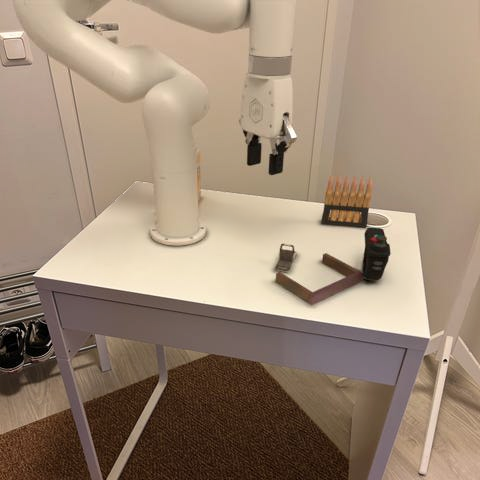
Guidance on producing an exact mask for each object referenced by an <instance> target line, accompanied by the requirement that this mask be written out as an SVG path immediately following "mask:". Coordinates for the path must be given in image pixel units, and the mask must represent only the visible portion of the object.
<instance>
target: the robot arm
mask: <svg viewBox="0 0 480 480" xmlns="http://www.w3.org/2000/svg"><path fill="white" fill-rule="evenodd" d="M111 1H112V0H12V5H13V8H14V12H15V15H16V18H17V20H18V22H19V24H20V26H21V28H22V29H23V31H24V32H25V34H26V35H27V37H28V38H29V40H30V41H31V42H32V43H33V44H34V45H35V46H36V47H37V48H39V49H40V51H42V52H43V53H44V54H46V55H47V56H48V57H50V58H51V59H53V60H55V61H56V62H57V63H60V64H61V65H62V66H64V67H66V68H68V69H69V70H71V71H72V72H74V73H75V74H77V75H78V76H80V77H81V78H82V79H84V80H86V81H87V82H88V83H89V84H91V85H93V86H94V87H96V88H97V89H99V90H101V91H102V92H103V93H105V94H106V95H108V96H109V97H111V98H112V99H114V100H116V101H118V102H119V103H122V104H131V103H136V102H138V101H140V100H142V105H141V118H142V122H143V126H144V130H145V133H146V138H147V143H148V147H149V148H148V150H149V157H150V158H149V159H150V168H151V175H152V176H151V178H152V188H153V190H152V191H153V201H154V209H152V214H153V215H154V216H155V221H156V223H154V224H153V225H152V226H151V228H150V237H151V239H152V240H154V241H155V242H157V243H159V244H161V245H166V246H177V247H178V246H187V245H188V246H189V245H192V244H195V243H198V242H199V241H201V240H203V239H204V238H205V237H206V236H207V235H206V234H207V228H206V226H205V224H203V223H202V222H201V221H200V218H199V217H200V215H199V200H198V184H197V159H196V148H197V147H196V145H195V140H194V136H193V132H192V127H193V126H194V125H196V124H198V123H199V122H201V121H202V120H203V119H204V118H205V117H206V116H207V114H208V112H209V110H210V108H211V107H210V106H211V97H210V92H209V90H208V88H207V86H206V84H205V83H204V82H203V81H202V80H201V78H199V77H198V76H197V75H195V74H194V73H193V72H191V71H189V70H188V69H186V68H185V67H184V66H182V65H180V64H179V63H178V62H176V61H174V60H173V59H172V58H170V57H169V56H168V55H166V54H164V53H162V52H161V51H159V50H158V49H156V48H154V47H151V46H148V45H145V44H135V45H130V46H121V45H118V44H116V43H114V42H113V41H111V40H109V39H107V38H106V37H104V36H102V35H101V34H100V33H99V32H97V31H96V30H94V29H92V28H91V27H89V26H87V25H84V24H82V23H80V21H84V20H87V19H88V18H90V17H92V16H93V15H94V14H96V13H97V12H98V11H100V10H101V9H102V8H103V7H105V6H106V5H107V4H108V3H110V2H111ZM127 1H129V2H132V3H134V4H137V5H140V6H143V7H146V8H148V9H150V10H151V11H152V12H153V13H156V14H158V15H160V16H162V17H164V18H167V19H169V20H171V21H174V22H175V23H179V24H182V25H184V26H188V27H190V28H193V29H197V30H198V31H199V30H200V31H202V32H206V33H209V34H223V33H228V32H232V31H237V30H243V29H249V31H248V33H249V35H248V69H247V71H248V72H246V73H245V77H244V81H243V86H242V94H241V102H240V103H241V105H240V117H239V120H238V123H239V125H240V127H241V129H242V133H243V135H244V137H245V141H244V142H245V144H246V146H247V147H246V148H247V149H246V165H247V166H249V167H252V166H256V165H259V164H261V162H262V149H263V147H262V142H260V141H261V138H263V139H266V140H269V142H270V146H271V147H270V148H271V153H269V155H268V156H269V157H268V175H270V176H275V175H278V174H282V173H283V171H284V159H285V153H287V152H288V149H289V148H290V147H291V146H292V145H293V143H295V142H296V141H297V139H298V136H297V134H296V132H295V130H294V128H293V118H294V117H293V114H294V89H293V88H294V87H293V78H292V77H291V74H292V63H293V48H294V37H295V35H294V34H295V23H296V22H295V21H296V8H297V0H127ZM278 142H279V143H278Z"/></svg>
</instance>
